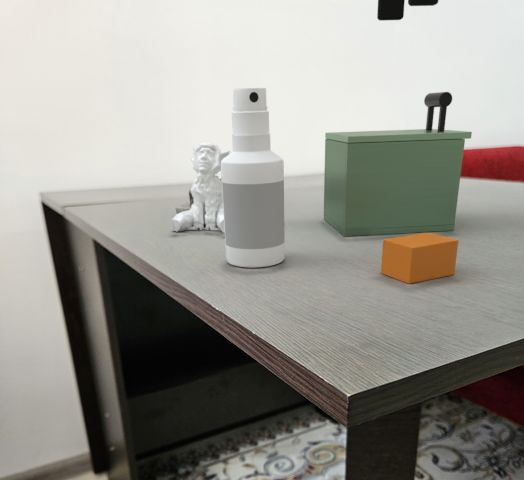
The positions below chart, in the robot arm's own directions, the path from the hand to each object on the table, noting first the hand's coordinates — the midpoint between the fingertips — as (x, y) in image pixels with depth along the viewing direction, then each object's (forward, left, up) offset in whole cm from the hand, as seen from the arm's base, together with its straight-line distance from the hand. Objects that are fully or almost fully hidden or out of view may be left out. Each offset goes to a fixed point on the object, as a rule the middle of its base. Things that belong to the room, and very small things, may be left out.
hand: (405, 13), depth 60 cm
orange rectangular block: (+3, +18, -26) cm, 32 cm away
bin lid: (-2, -7, -14) cm, 16 cm away
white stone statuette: (+21, -27, -26) cm, 43 cm away
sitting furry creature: (+24, -12, -26) cm, 37 cm away
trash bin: (-2, -7, -26) cm, 27 cm away
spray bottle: (+19, +9, -26) cm, 34 cm away
